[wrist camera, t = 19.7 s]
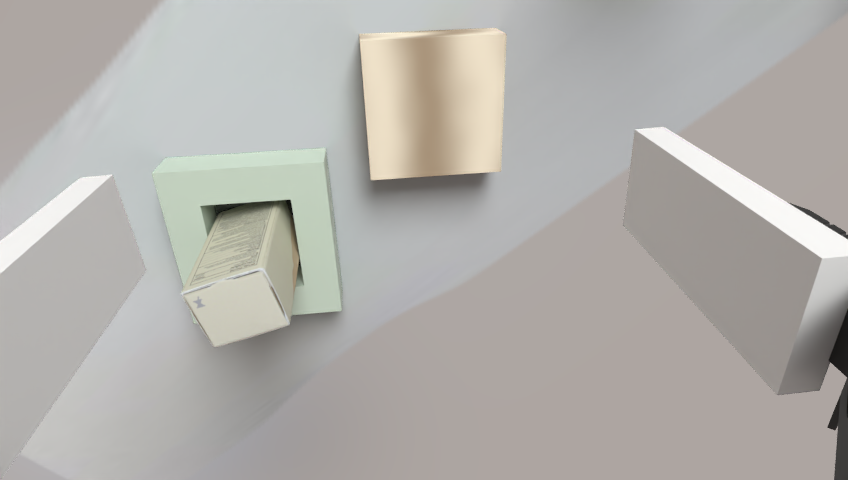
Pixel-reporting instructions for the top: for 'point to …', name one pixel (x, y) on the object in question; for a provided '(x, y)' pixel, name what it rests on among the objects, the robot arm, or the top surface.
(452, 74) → the stand
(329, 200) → the socket
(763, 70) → the top surface
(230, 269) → the box
